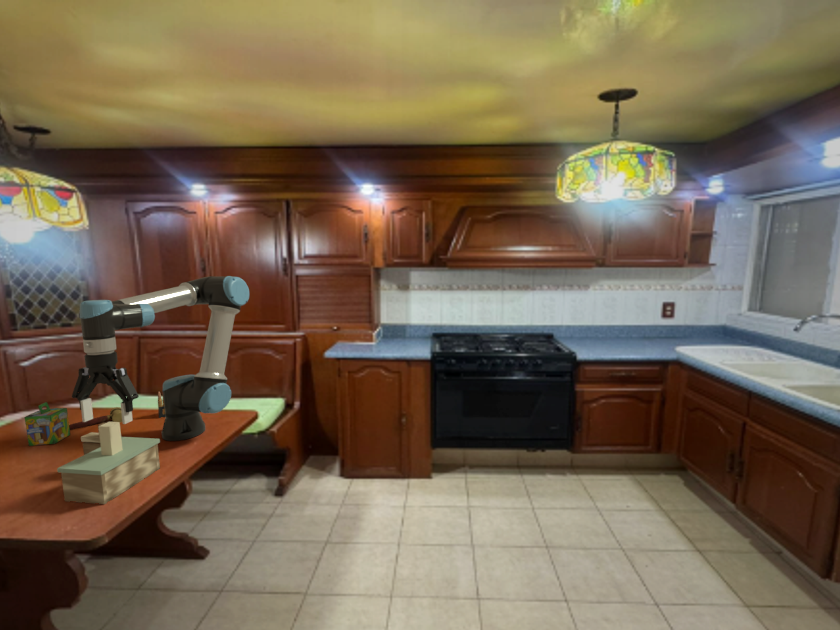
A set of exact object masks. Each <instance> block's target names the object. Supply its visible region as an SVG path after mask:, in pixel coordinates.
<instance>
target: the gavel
mask: <svg viewBox="0 0 840 630" xmlns="http://www.w3.org/2000/svg"><path fill="white" fill-rule="evenodd" d="M110 420H112V421H111V422H120V423H123V422H122V412H121V407H117V406H116V407H114V408H112V409H111V410H110V412H109V414H107V415H102V416H98V417H93V419H91V420H89V421H86V422H83V421H79V422H75V423H74V422H73V423H71V424H69V428H70V431H73V430H78V429H81V428H85V427H90V426H94V425H97V424H98V425H99V424H101V423H106V422H108V421H110Z"/></svg>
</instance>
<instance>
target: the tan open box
mask: <svg viewBox="0 0 840 630" xmlns="http://www.w3.org/2000/svg"><path fill="white" fill-rule="evenodd" d="M158 444H159V443H158ZM158 444H156V445H154V446H152V447H151V448H149V449H147V450H145V451H143V452H142V453H140V454H138V455H136V456H135V457H133V458H131V459H129V460H127V461H126V462H124V463H122V464H120V465H119V466H117V467H115V468H113V469H111V470H110V471H108V472H106V473H104V474H103V475H90V474H75V473H61V472H60V473H61V483H62V490H63V496H64V502H70V501H76V502H75V503H82V502H85V503H84V504H95V503H99V504H98V505H106V504H107V502H108V501H109V502H110V500H111V501H112V500H114V499H115V498H116V497H119V496H120V495H122V494H123V493H124V492H126V491H128V490H129V489H130V488H133V487H134V486H135V485H137V484H138V483H140V482H141V481H143V480H145V479H147V477H150V476H151V475H152V474H155V471H156V472H157V471H159V470H160V469H161V466H160V464H161V463H160V457H159V455H160V454H159V445H158ZM100 447H101V445H100V443H97V442H82V449H83V455H85V454H87V453H90V452H92V451H94V450H96V449H98V448H100ZM144 478H145V479H144ZM113 498H114V499H113ZM109 502H108V503H109Z"/></svg>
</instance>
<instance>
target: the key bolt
mask: <svg viewBox="0 0 840 630" xmlns="http://www.w3.org/2000/svg"><path fill="white" fill-rule="evenodd" d="M105 423H106V422H101V423H98V425H97V428H98V429H97V430H98V432H89V433H87V434H84V435H82V436H80V440H81V442H82V443H83V442H97V443H100V436H99V427H98V426H100V425H103V424H105Z"/></svg>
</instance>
